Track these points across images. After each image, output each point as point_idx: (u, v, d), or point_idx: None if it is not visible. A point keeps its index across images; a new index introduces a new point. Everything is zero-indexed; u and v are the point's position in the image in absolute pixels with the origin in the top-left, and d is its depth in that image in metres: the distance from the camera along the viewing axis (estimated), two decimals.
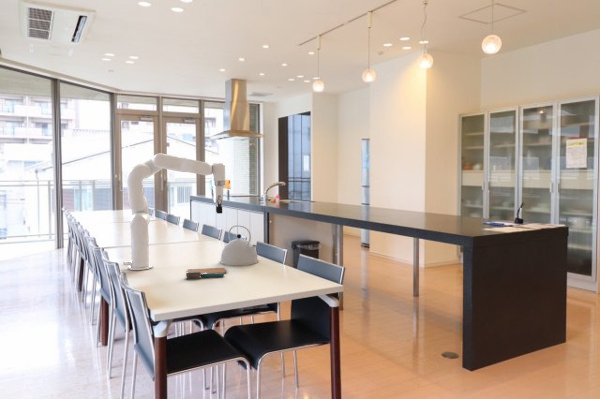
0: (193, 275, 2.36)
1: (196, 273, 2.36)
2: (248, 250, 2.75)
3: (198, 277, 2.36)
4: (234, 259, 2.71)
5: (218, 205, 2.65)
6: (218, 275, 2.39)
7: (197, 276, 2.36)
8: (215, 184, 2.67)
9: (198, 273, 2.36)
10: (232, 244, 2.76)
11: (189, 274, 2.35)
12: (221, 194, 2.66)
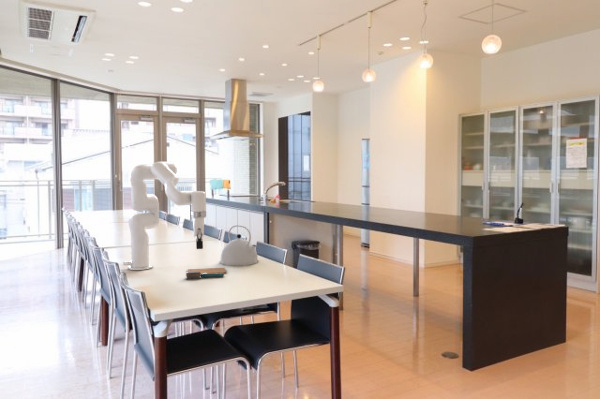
0: (193, 275, 2.36)
1: (196, 273, 2.36)
2: (248, 250, 2.75)
3: (198, 277, 2.36)
4: (234, 259, 2.71)
5: (198, 240, 2.32)
6: (218, 275, 2.39)
7: (197, 276, 2.36)
8: (194, 216, 2.35)
9: (198, 273, 2.36)
10: (232, 244, 2.76)
11: (189, 274, 2.35)
12: (201, 227, 2.34)
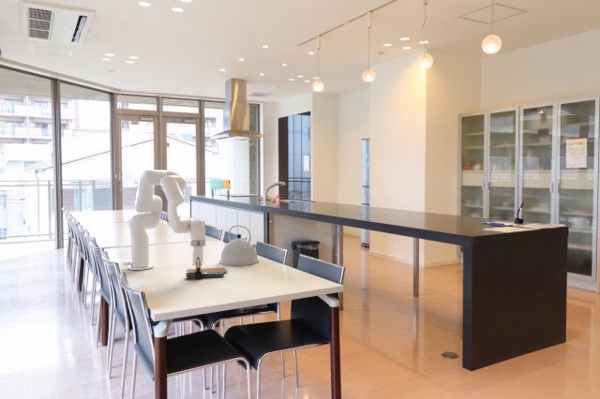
0: (193, 275, 2.36)
1: None
2: (248, 250, 2.75)
3: None
4: (234, 259, 2.71)
5: (197, 270, 2.34)
6: (218, 275, 2.39)
7: None
8: (193, 244, 2.34)
9: None
10: (232, 244, 2.76)
11: (189, 274, 2.35)
12: (200, 256, 2.33)
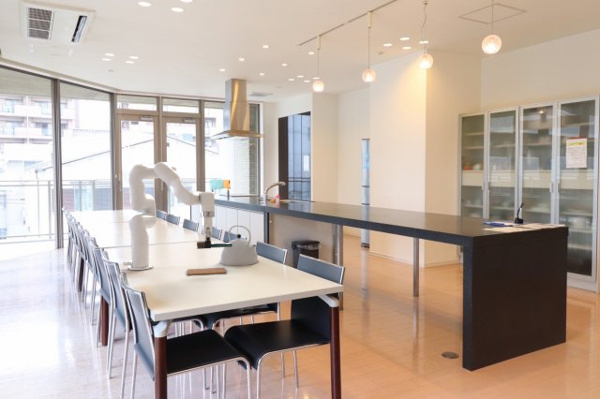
0: (203, 245, 2.48)
1: None
2: (248, 250, 2.75)
3: None
4: (234, 259, 2.71)
5: (206, 240, 2.46)
6: (227, 245, 2.52)
7: None
8: (203, 215, 2.46)
9: None
10: (232, 244, 2.76)
11: (199, 244, 2.48)
12: (210, 226, 2.46)
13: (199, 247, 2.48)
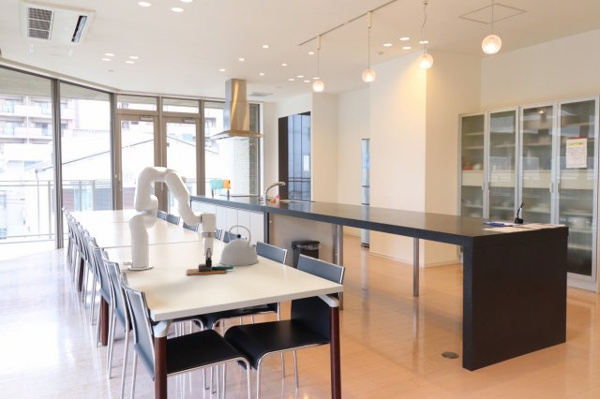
0: (205, 267, 2.50)
1: None
2: (248, 250, 2.75)
3: (209, 269, 2.51)
4: (234, 259, 2.71)
5: (207, 259, 2.46)
6: (228, 268, 2.54)
7: (208, 268, 2.51)
8: (205, 236, 2.49)
9: None
10: (232, 244, 2.76)
11: (201, 267, 2.50)
12: (211, 247, 2.48)
13: (201, 270, 2.50)
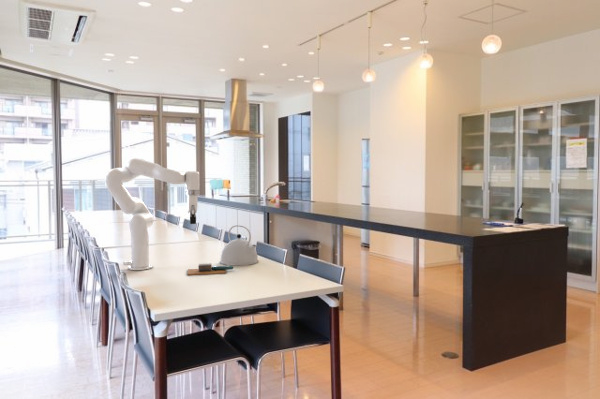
0: (205, 267, 2.50)
1: (207, 266, 2.51)
2: (248, 250, 2.75)
3: (209, 269, 2.51)
4: (234, 259, 2.71)
5: (191, 215, 2.54)
6: (228, 268, 2.54)
7: (208, 268, 2.51)
8: (188, 193, 2.56)
9: (209, 266, 2.51)
10: (232, 244, 2.76)
11: (201, 267, 2.50)
12: (195, 204, 2.56)
13: (201, 270, 2.50)
